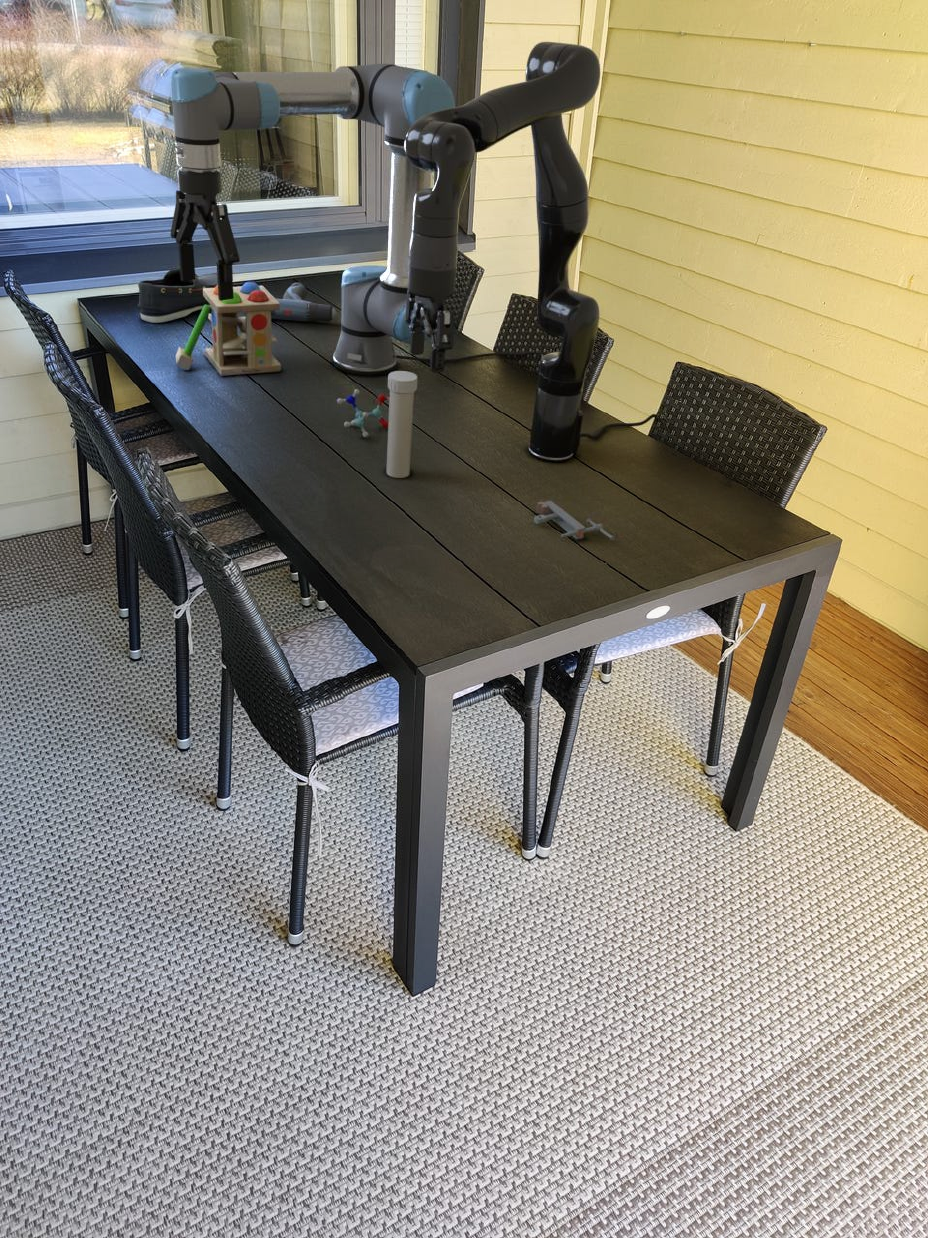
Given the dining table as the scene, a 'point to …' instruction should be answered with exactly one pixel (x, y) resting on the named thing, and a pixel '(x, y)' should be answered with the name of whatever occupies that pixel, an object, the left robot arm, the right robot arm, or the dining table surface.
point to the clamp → (565, 520)
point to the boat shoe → (173, 296)
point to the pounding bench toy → (229, 347)
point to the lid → (402, 382)
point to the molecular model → (360, 415)
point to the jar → (399, 434)
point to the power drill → (301, 307)
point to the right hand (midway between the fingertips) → (426, 362)
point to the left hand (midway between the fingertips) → (206, 289)
